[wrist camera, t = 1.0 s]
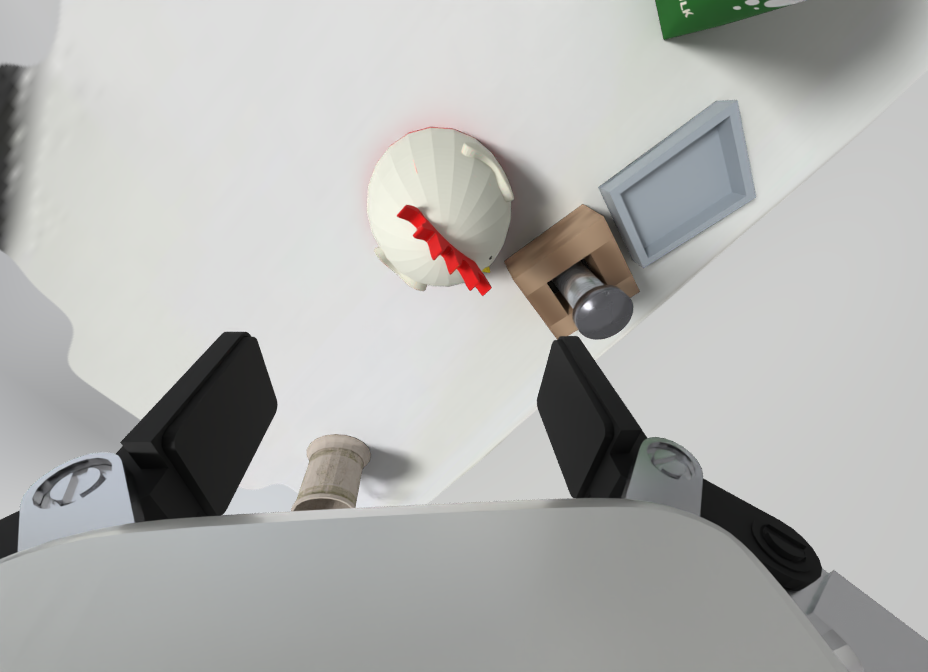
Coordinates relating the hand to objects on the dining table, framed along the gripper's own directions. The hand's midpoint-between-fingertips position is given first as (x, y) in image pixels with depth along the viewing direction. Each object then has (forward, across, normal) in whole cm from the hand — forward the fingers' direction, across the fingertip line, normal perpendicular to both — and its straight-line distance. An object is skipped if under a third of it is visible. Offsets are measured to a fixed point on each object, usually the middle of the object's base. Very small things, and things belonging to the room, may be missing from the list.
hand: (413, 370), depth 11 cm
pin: (+27, -16, +7) cm, 32 cm away
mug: (+27, +14, +42) cm, 52 cm away
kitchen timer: (+27, -2, +1) cm, 27 cm away
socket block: (+27, -16, +7) cm, 32 cm away
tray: (+26, -26, -2) cm, 37 cm away
